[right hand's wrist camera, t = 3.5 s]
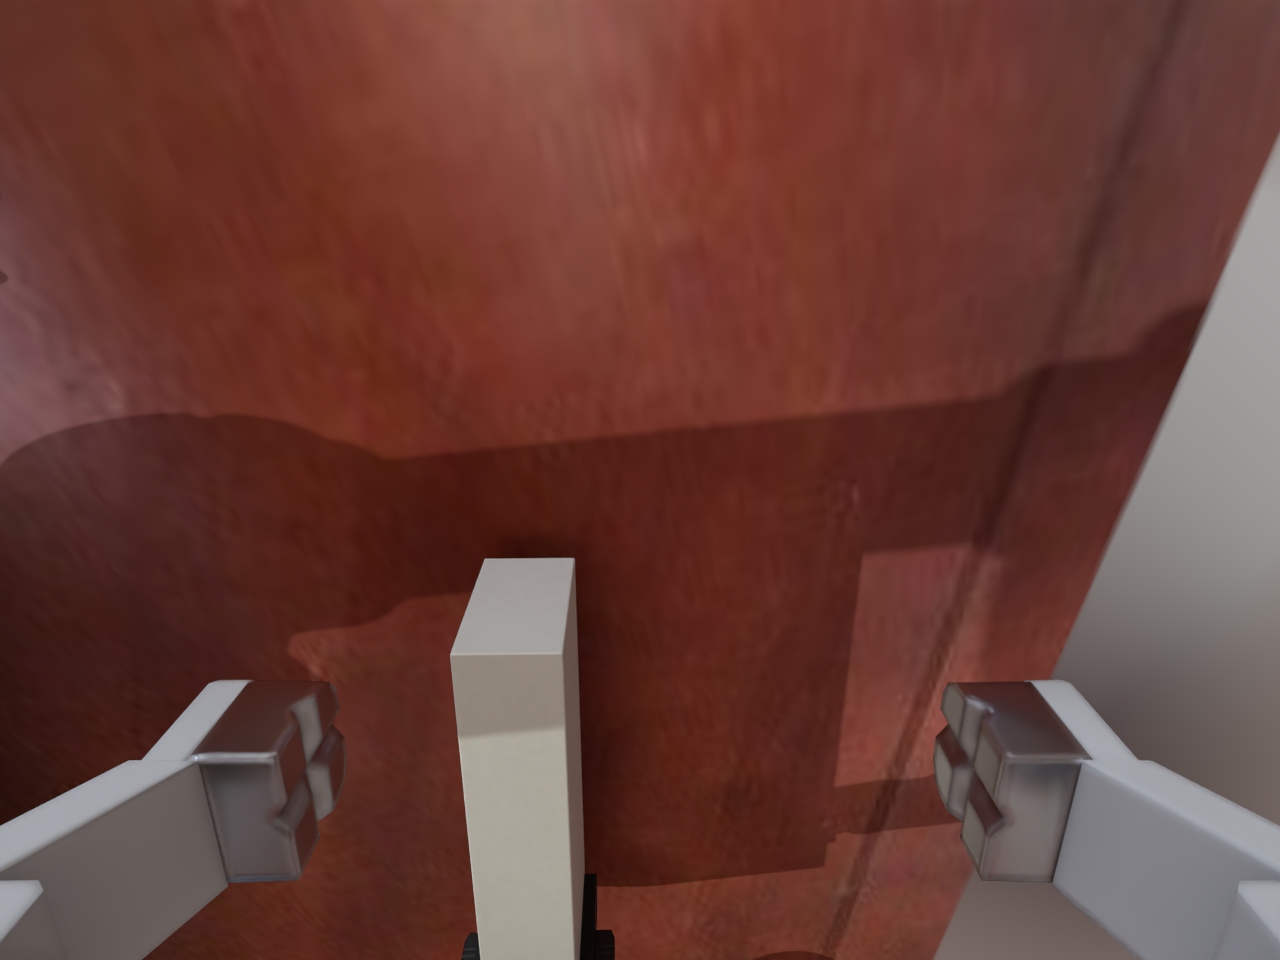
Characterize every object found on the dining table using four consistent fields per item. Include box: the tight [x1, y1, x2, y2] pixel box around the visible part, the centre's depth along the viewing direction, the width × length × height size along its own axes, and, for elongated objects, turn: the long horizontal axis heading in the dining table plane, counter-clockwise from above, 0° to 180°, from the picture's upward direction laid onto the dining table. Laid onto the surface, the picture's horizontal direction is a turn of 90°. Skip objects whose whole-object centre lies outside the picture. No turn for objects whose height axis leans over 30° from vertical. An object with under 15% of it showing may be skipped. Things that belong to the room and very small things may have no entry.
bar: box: [450, 558, 585, 960], centre depth 42 cm, size 27×5×9 cm, turn 0°
